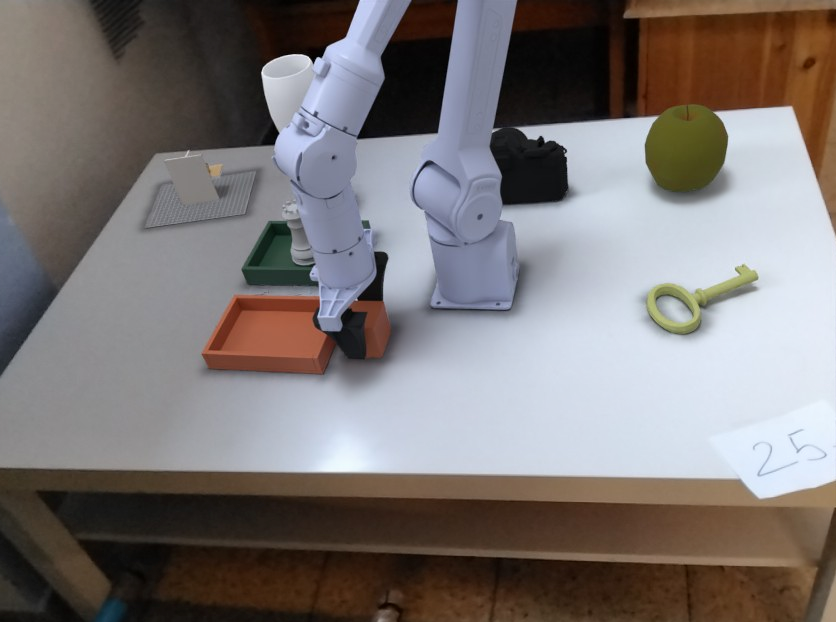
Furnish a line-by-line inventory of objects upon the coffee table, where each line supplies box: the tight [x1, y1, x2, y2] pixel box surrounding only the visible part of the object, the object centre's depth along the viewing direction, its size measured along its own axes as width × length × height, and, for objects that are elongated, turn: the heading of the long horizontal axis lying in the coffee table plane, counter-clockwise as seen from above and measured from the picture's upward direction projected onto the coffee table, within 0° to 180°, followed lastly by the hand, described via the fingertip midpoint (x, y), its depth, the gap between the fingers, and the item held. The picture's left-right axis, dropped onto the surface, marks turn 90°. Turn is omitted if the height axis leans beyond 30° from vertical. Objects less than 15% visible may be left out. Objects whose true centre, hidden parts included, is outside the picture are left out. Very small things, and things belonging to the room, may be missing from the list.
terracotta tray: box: [201, 294, 337, 375], centre depth 96 cm, size 14×10×2 cm
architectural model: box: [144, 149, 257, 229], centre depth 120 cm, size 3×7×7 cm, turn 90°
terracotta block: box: [342, 300, 392, 359], centre depth 92 cm, size 4×4×4 cm
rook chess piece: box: [281, 198, 316, 266], centre depth 104 cm, size 4×4×8 cm
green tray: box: [240, 219, 372, 286], centre depth 106 cm, size 14×10×2 cm
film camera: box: [489, 126, 569, 206], centre depth 108 cm, size 15×10×9 cm, turn 82°
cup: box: [260, 53, 315, 134], centre depth 107 cm, size 7×7×21 cm
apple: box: [644, 103, 729, 193], centre depth 102 cm, size 10×10×11 cm
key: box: [646, 263, 759, 335], centre depth 90 cm, size 7×12×2 cm, turn 125°
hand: (365, 334), depth 93 cm, fingers open, 7 cm apart
